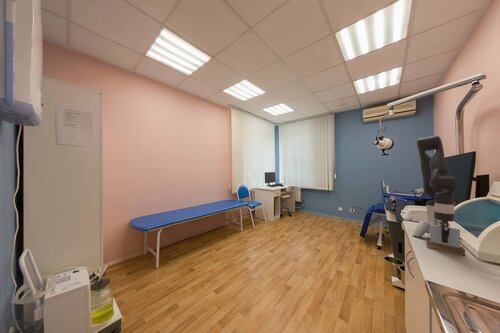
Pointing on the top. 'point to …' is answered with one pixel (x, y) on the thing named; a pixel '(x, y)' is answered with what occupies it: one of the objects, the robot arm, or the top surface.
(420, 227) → the infrared thermometer
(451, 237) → the slate sheet
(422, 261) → the top surface
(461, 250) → the slot rack
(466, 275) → the top surface
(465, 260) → the top surface
